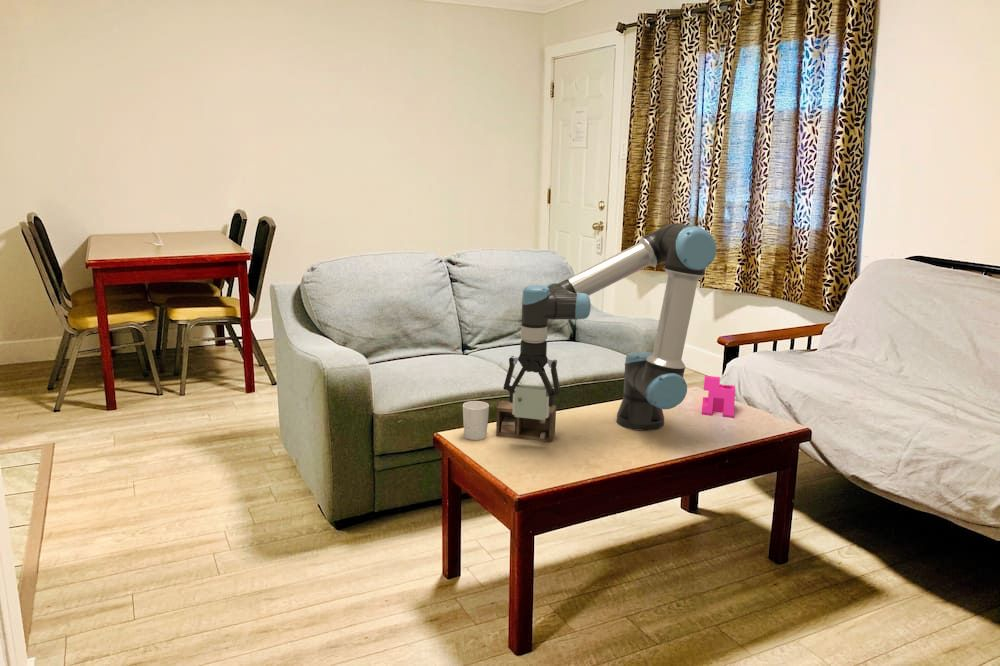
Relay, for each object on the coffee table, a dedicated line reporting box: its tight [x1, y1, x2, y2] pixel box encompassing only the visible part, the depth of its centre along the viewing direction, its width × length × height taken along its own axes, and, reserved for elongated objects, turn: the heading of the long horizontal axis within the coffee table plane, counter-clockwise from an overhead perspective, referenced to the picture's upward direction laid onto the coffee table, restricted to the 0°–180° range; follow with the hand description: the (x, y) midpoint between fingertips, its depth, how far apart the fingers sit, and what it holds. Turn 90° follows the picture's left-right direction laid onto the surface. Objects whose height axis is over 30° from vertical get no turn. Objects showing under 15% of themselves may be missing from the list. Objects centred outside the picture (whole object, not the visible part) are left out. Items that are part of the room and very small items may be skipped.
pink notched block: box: [700, 375, 736, 419], centre depth 258 cm, size 12×10×10 cm
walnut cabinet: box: [495, 400, 557, 442], centre depth 232 cm, size 17×10×9 cm, turn 77°
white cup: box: [462, 400, 490, 441], centre depth 231 cm, size 8×8×10 cm
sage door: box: [514, 383, 548, 420], centre depth 222 cm, size 9×4×9 cm, turn 77°
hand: (530, 414), depth 223 cm, fingers closed on sage door, 9 cm apart
